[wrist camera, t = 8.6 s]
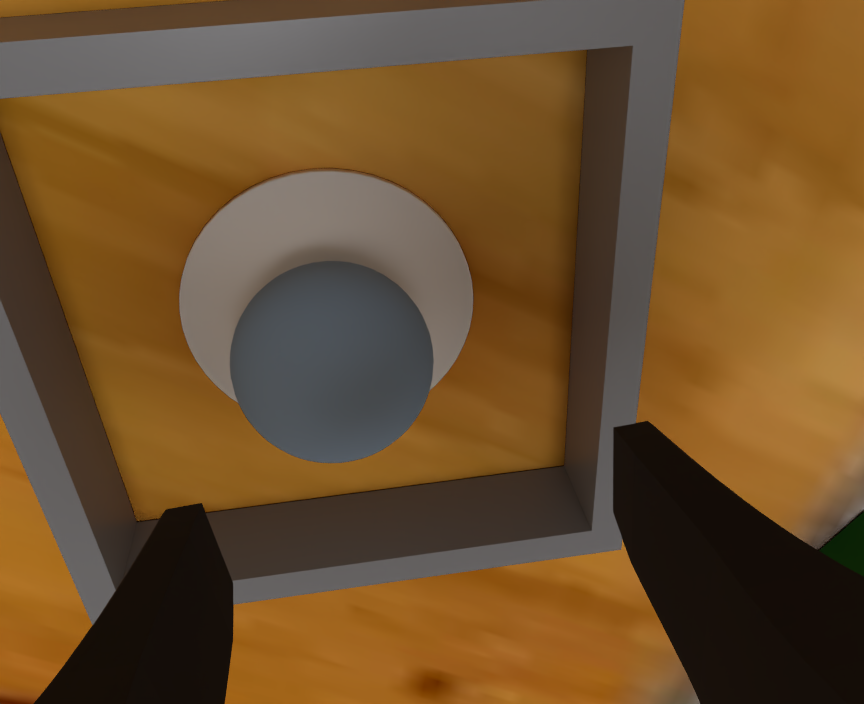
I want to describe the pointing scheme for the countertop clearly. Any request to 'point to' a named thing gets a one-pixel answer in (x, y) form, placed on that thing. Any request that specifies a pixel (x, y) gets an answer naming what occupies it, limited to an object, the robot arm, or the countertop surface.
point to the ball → (331, 361)
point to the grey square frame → (357, 243)
